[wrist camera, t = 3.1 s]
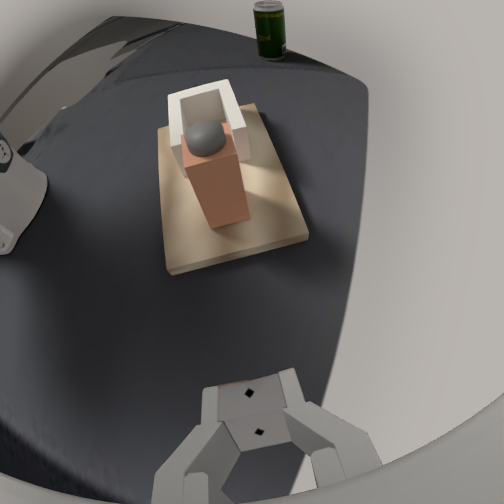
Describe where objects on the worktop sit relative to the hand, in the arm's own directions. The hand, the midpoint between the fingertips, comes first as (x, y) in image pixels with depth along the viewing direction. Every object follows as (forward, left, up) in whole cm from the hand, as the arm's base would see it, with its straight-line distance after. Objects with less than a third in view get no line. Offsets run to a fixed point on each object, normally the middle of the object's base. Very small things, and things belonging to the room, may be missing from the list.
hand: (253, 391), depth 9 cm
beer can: (+15, +53, -16) cm, 57 cm away
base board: (0, +24, -16) cm, 28 cm away
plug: (0, +18, -14) cm, 23 cm away
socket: (0, +28, -14) cm, 32 cm away
